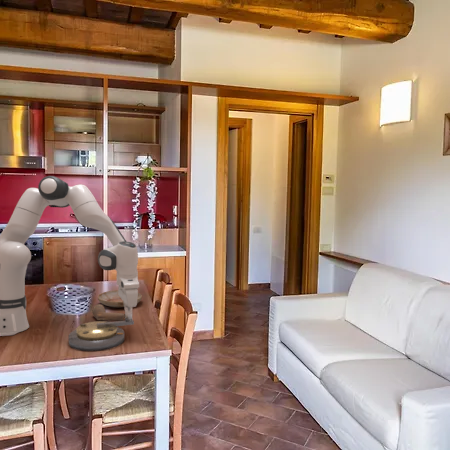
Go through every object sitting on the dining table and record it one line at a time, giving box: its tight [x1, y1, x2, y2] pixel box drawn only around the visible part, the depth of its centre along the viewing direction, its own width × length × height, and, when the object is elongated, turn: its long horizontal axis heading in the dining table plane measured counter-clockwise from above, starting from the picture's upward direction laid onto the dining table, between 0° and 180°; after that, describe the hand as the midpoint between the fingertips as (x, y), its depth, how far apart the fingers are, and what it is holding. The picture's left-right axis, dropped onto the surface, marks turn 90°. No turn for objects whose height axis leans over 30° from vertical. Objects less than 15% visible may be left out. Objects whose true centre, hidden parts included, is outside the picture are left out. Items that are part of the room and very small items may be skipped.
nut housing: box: [68, 326, 125, 352], centre depth 179 cm, size 22×22×3 cm
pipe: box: [91, 303, 125, 322], centre depth 208 cm, size 6×17×10 cm
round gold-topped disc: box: [75, 306, 135, 341], centre depth 180 cm, size 23×16×10 cm
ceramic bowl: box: [97, 289, 143, 308], centre depth 233 cm, size 23×24×5 cm
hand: (126, 311), depth 187 cm, fingers closed
